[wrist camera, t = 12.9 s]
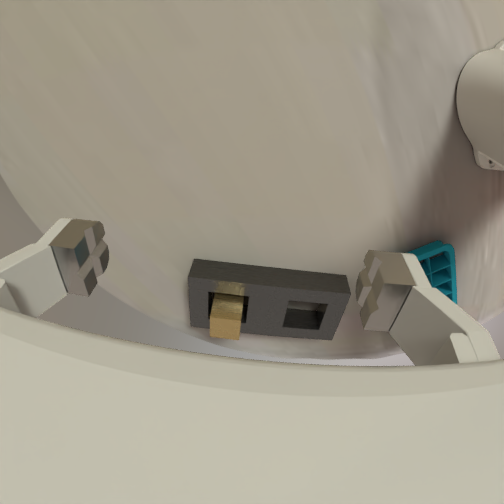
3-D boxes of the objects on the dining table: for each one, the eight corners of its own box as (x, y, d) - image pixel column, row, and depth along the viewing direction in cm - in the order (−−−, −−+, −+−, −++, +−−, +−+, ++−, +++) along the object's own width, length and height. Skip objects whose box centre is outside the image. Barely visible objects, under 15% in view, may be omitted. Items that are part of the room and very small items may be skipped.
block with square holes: (346, 275, 45) (350, 293, 42) (329, 321, 51) (331, 340, 48) (194, 258, 45) (188, 276, 42) (195, 307, 51) (190, 326, 47)
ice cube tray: (396, 336, 53) (400, 349, 51) (375, 258, 43) (380, 271, 41) (451, 315, 50) (456, 326, 47) (445, 230, 40) (453, 242, 37)
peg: (245, 280, 47) (240, 320, 40) (243, 300, 49) (238, 340, 42) (218, 277, 47) (209, 317, 40) (217, 297, 49) (209, 336, 42)
